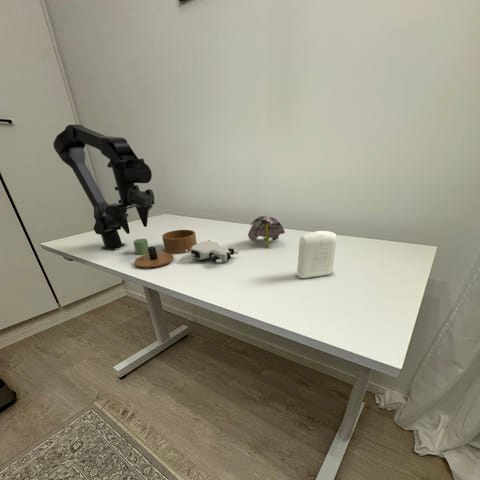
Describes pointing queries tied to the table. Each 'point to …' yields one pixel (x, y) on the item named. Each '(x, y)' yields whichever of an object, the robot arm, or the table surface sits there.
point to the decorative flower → (265, 229)
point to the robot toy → (211, 251)
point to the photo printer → (316, 254)
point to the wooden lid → (153, 258)
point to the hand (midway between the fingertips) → (137, 230)
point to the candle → (141, 246)
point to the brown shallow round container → (179, 241)
